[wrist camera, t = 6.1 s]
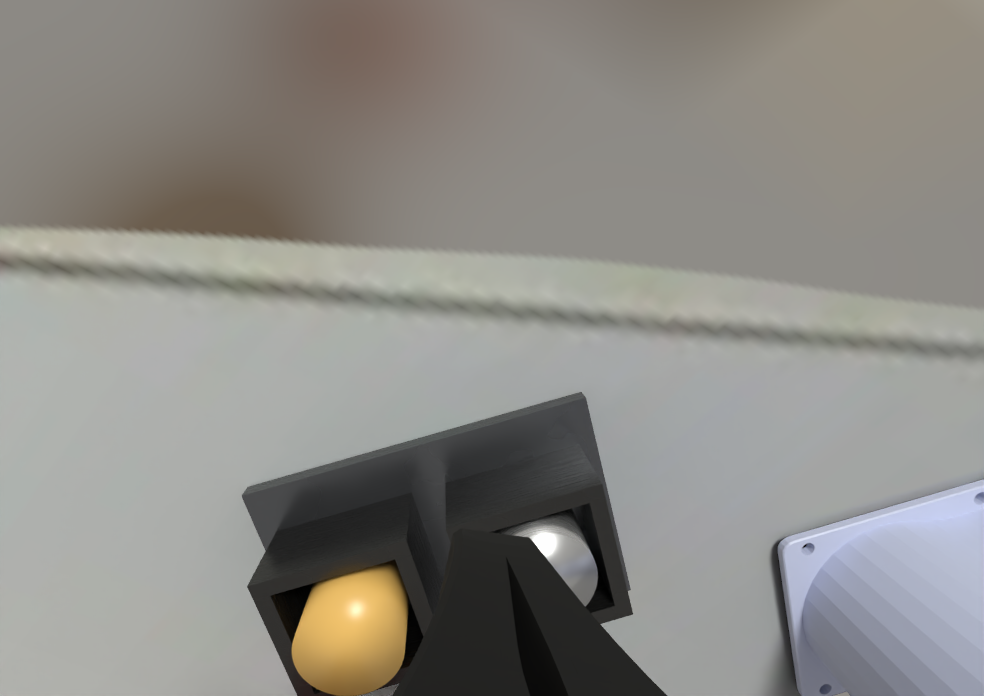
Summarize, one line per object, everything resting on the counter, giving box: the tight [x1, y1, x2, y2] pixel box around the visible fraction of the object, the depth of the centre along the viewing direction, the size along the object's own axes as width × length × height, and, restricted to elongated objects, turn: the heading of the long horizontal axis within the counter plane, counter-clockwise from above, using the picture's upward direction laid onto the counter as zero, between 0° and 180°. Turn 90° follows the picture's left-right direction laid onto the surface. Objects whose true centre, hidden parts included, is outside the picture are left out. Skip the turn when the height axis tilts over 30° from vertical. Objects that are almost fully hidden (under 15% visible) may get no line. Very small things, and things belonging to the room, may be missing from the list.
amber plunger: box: [292, 560, 409, 696], centre depth 17 cm, size 3×3×3 cm
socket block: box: [242, 392, 633, 696], centre depth 18 cm, size 12×8×3 cm, turn 105°
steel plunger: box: [492, 508, 598, 607], centre depth 17 cm, size 3×3×3 cm
